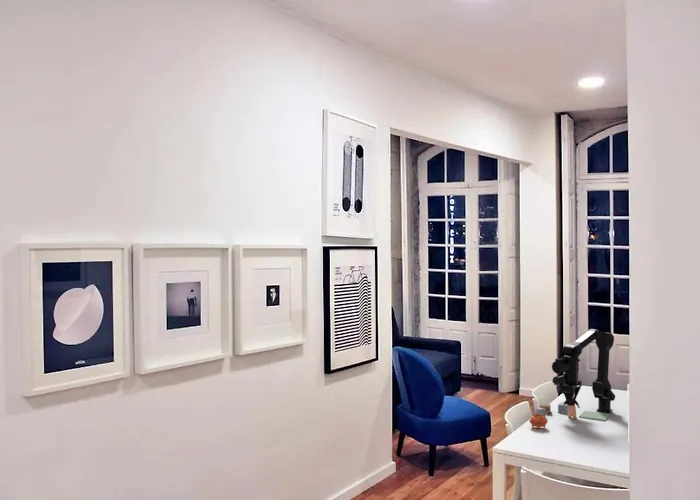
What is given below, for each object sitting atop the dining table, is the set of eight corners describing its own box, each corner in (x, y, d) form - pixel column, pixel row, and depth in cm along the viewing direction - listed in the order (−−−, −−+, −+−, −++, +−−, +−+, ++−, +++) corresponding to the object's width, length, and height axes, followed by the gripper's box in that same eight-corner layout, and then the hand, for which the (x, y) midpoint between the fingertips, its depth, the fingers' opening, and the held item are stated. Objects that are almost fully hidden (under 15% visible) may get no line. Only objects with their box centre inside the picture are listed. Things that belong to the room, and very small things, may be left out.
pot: (550, 430, 278) (546, 415, 279) (532, 433, 280) (529, 419, 280) (548, 424, 286) (544, 410, 286) (531, 427, 288) (527, 413, 288)
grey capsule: (537, 415, 305) (537, 407, 305) (546, 416, 303) (546, 408, 303) (534, 417, 301) (534, 409, 301) (543, 418, 299) (543, 410, 299)
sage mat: (584, 411, 311) (584, 410, 311) (610, 415, 304) (610, 414, 304) (579, 417, 301) (579, 416, 301) (605, 421, 294) (605, 419, 294)
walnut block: (540, 411, 313) (540, 403, 313) (550, 411, 312) (550, 404, 312) (539, 413, 308) (539, 405, 308) (550, 414, 307) (550, 406, 307)
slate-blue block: (561, 409, 315) (561, 402, 315) (569, 411, 313) (569, 403, 313) (558, 412, 310) (558, 404, 310) (566, 413, 308) (566, 405, 308)
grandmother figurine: (578, 417, 301) (578, 391, 301) (580, 419, 298) (580, 392, 298) (561, 416, 302) (561, 390, 302) (563, 418, 298) (563, 392, 298)
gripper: (559, 366, 312) (559, 397, 312) (548, 372, 297) (548, 405, 297) (582, 368, 306) (582, 400, 306) (572, 375, 290) (572, 408, 290)
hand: (571, 403), depth 300 cm, fingers open, 9 cm apart
